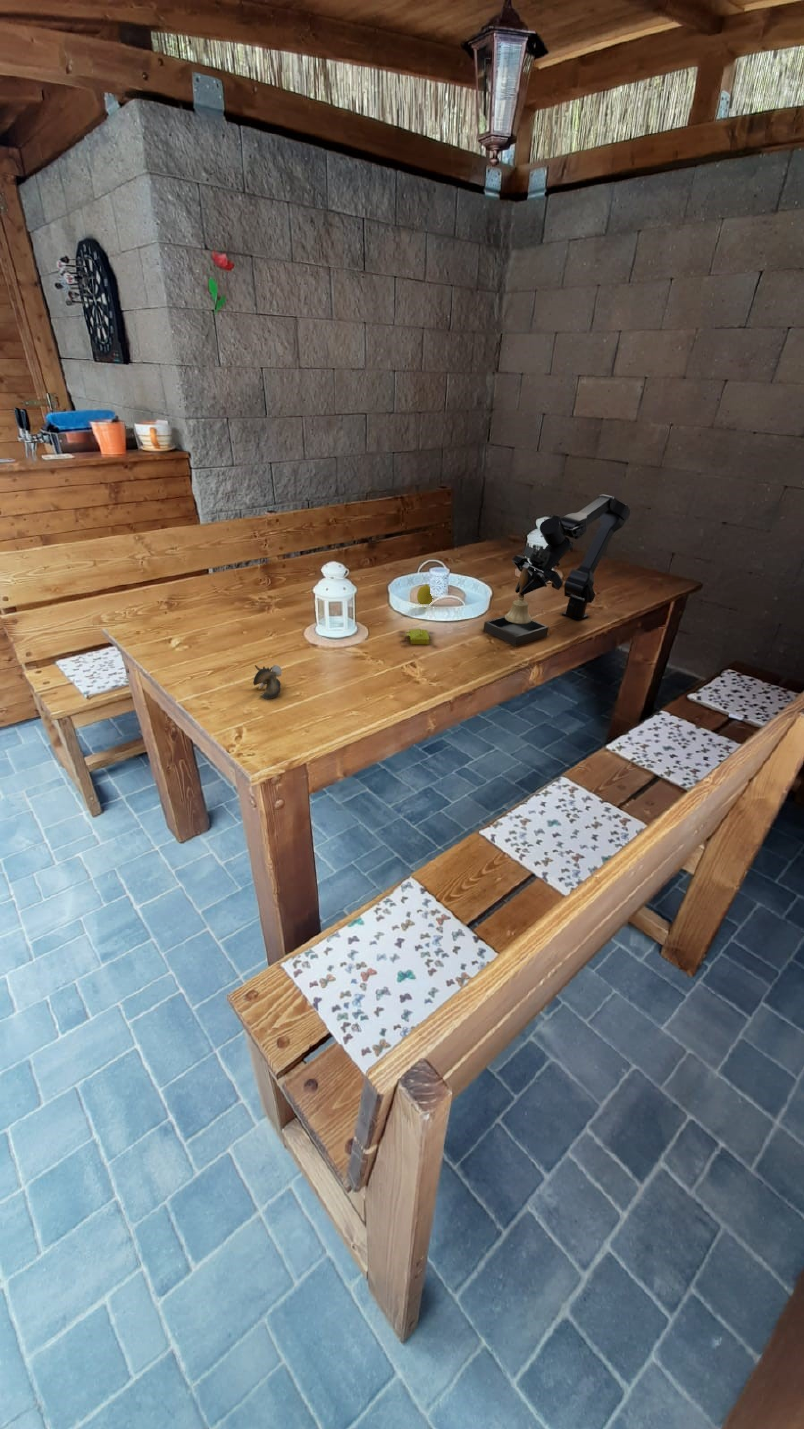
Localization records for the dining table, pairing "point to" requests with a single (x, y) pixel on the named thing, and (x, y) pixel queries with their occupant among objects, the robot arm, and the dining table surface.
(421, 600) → the olive green oval piece
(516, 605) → the hand bell
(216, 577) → the dining table surface
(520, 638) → the bin
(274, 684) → the dark creature figurine
